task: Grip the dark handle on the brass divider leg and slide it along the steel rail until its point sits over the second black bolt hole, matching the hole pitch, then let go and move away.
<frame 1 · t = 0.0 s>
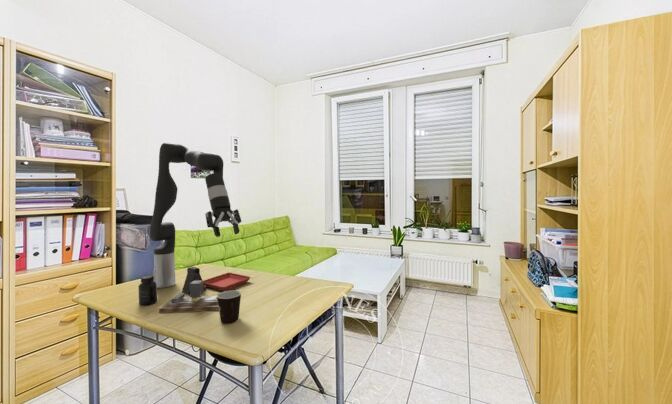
hand: (228, 235, 117), 31 cm above the table, tool tilted 20°, fingers open, 8 cm apart
phone stand: (194, 291, 142), on the table
hole gauge: (200, 304, 124), on the table
divider leg: (197, 290, 124), point 7 cm above the table, slide at 0.0 cm
coffee mug: (228, 322, 108), on the table
supplement bottle: (148, 303, 126), on the table
plant saucer: (226, 285, 152), on the table
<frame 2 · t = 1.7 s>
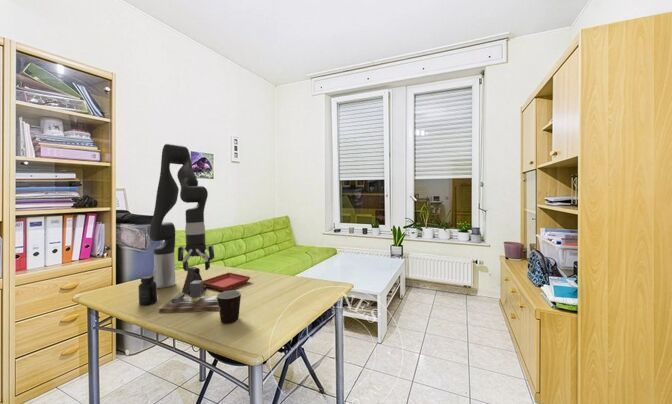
hand: (196, 270, 123), 16 cm above the table, tool pointing down, fingers open, 8 cm apart
nothing on the table moved.
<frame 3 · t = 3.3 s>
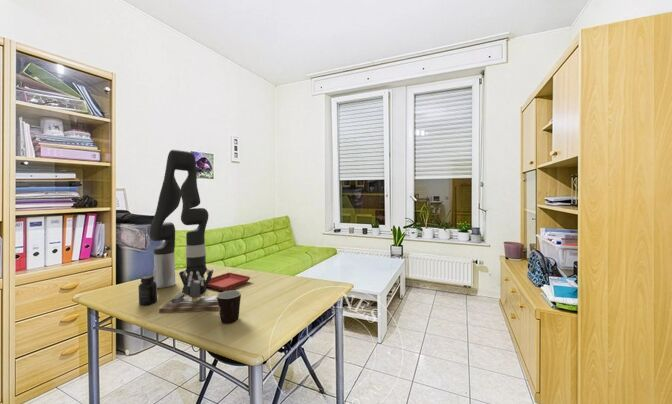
hand: (197, 293, 123), 5 cm above the table, tool pointing down, fingers closed on divider leg, 4 cm apart
divider leg: (197, 290, 124), point 6 cm above the table, slide at 0.0 cm, touching gripper
everything else where it was.
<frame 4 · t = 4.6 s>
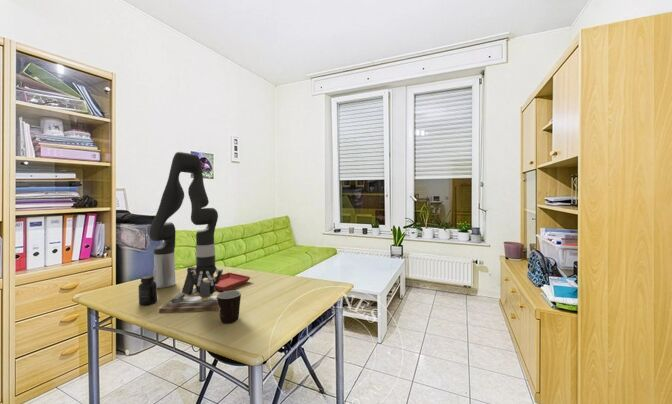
hand: (206, 293, 123), 5 cm above the table, tool pointing down, fingers closed on divider leg, 4 cm apart
divider leg: (207, 290, 124), point 7 cm above the table, slide at 4.0 cm, touching gripper
everything else where it was.
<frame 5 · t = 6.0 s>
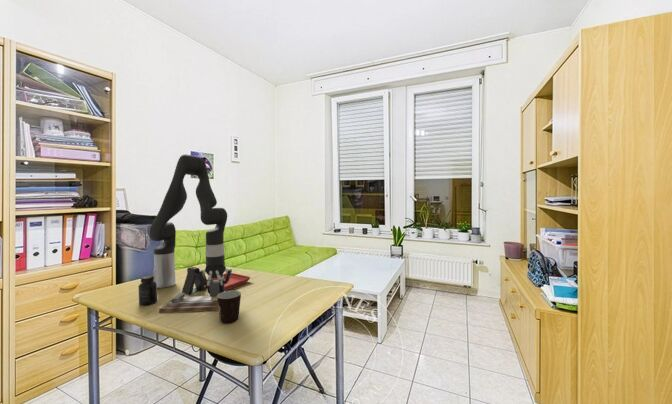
hand: (216, 293, 124), 5 cm above the table, tool pointing down, fingers closed on divider leg, 4 cm apart
divider leg: (216, 289, 124), point 7 cm above the table, slide at 8.0 cm, touching gripper
everything else where it was.
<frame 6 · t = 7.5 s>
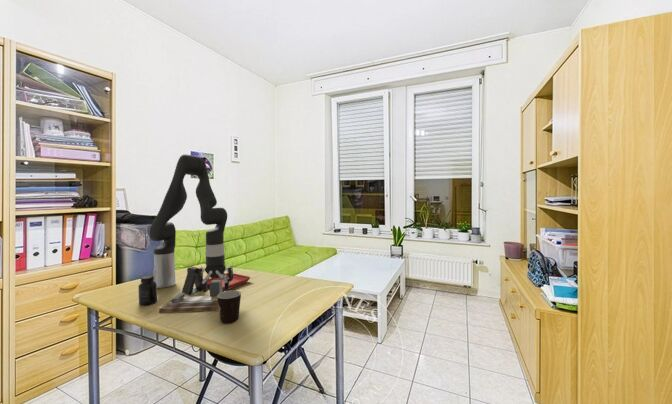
hand: (216, 291, 124), 6 cm above the table, tool pointing down, fingers open, 8 cm apart
divider leg: (216, 289, 124), point 7 cm above the table, slide at 8.0 cm
everything else where it was.
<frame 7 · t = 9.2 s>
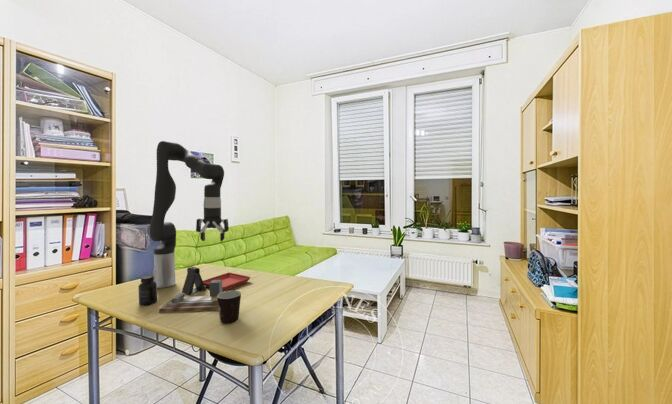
hand: (212, 240, 135), 26 cm above the table, tool pointing down, fingers open, 8 cm apart
nothing on the table moved.
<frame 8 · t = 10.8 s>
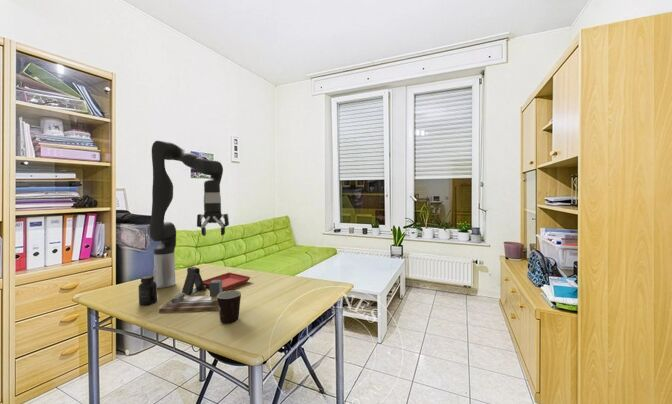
hand: (213, 235, 138), 28 cm above the table, tool pointing down, fingers open, 8 cm apart
nothing on the table moved.
at the end: divider leg slide at 8.0 cm; the gripper is holding nothing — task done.
